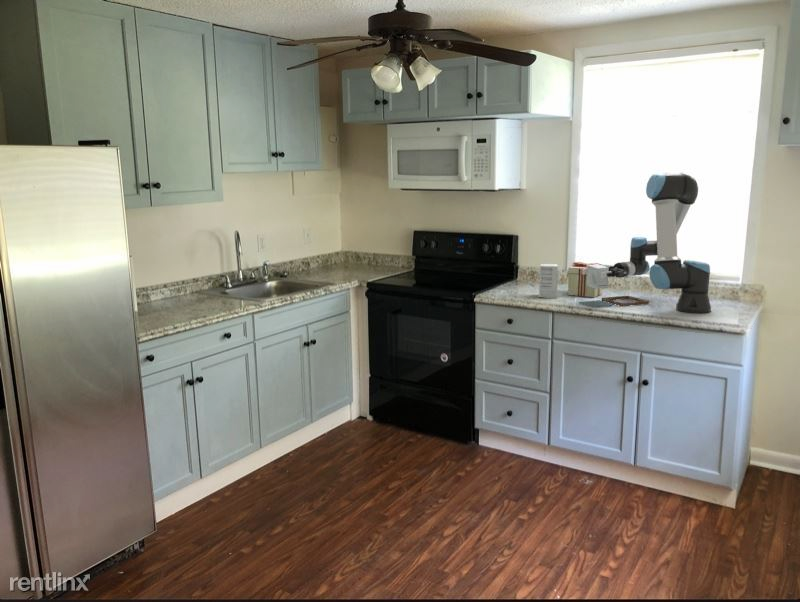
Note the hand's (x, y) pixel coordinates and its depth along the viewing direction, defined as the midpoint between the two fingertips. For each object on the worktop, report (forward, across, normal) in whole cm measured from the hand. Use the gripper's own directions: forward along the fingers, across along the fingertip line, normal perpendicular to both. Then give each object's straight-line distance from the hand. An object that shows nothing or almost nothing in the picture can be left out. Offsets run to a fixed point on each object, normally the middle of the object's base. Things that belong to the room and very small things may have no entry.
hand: (591, 273), depth 328 cm
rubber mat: (-4, -1, -16) cm, 16 cm away
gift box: (-19, +23, -16) cm, 34 cm away
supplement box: (+3, +28, -16) cm, 32 cm away
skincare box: (-4, 0, -7) cm, 8 cm away
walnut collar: (-19, -4, -16) cm, 25 cm away
